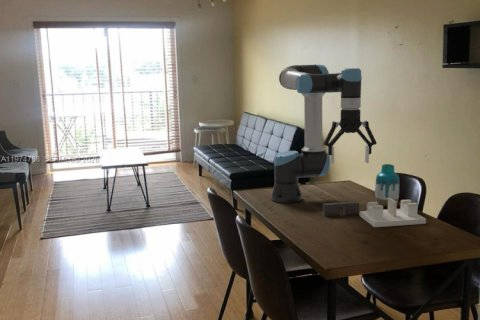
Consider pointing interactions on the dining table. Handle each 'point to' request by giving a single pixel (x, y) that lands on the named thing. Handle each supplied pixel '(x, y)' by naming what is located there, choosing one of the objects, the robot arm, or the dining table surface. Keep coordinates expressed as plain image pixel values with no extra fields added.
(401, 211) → the white pegged base plate
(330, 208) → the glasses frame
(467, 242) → the dining table surface
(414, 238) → the dining table surface
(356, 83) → the robot arm
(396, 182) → the vase
